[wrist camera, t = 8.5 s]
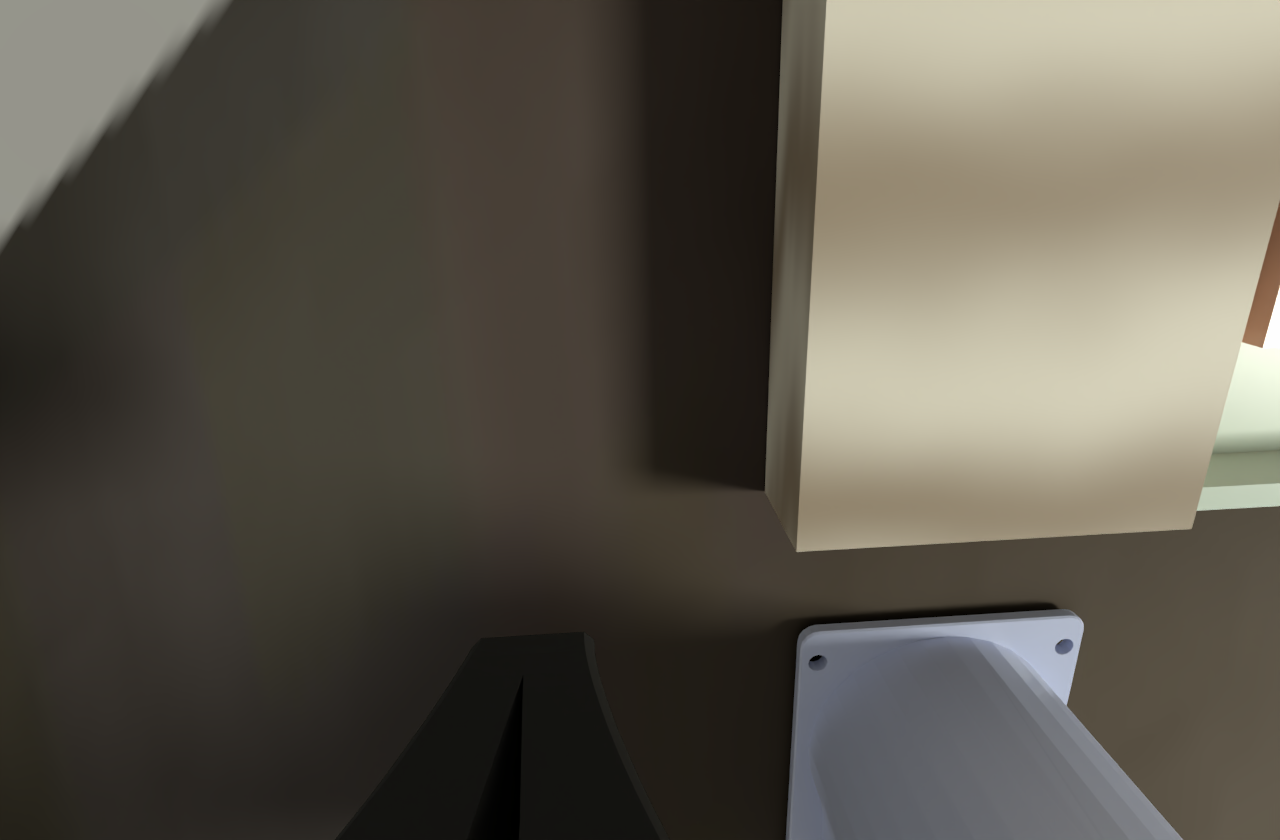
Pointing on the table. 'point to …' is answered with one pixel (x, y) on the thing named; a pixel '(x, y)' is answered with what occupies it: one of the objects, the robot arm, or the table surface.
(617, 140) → the table surface
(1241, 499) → the box
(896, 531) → the bench plate
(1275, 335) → the tile
